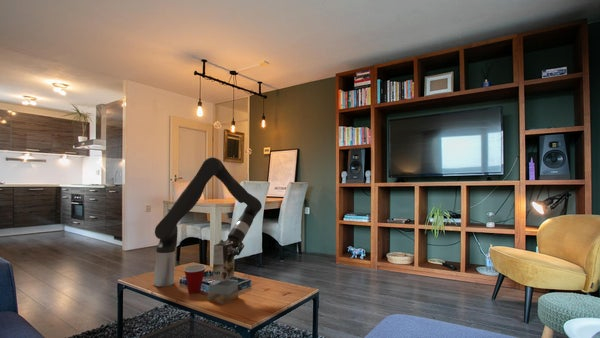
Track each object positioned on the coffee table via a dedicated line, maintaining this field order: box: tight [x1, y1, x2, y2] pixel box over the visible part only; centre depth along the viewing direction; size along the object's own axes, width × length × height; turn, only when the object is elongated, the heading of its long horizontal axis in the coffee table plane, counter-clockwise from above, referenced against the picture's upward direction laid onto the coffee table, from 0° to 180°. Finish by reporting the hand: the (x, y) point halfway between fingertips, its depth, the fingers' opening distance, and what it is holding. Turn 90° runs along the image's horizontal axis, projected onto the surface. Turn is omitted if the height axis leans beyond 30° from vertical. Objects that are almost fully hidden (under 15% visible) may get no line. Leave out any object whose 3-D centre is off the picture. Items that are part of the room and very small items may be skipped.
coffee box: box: [212, 242, 236, 281], centre depth 148 cm, size 9×6×16 cm
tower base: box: [206, 289, 239, 305], centre depth 147 cm, size 10×10×4 cm
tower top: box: [208, 279, 239, 295], centre depth 147 cm, size 10×10×4 cm
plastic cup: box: [182, 263, 207, 294], centre depth 157 cm, size 11×11×12 cm
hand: (221, 260), depth 147 cm, fingers closed on coffee box, 7 cm apart
